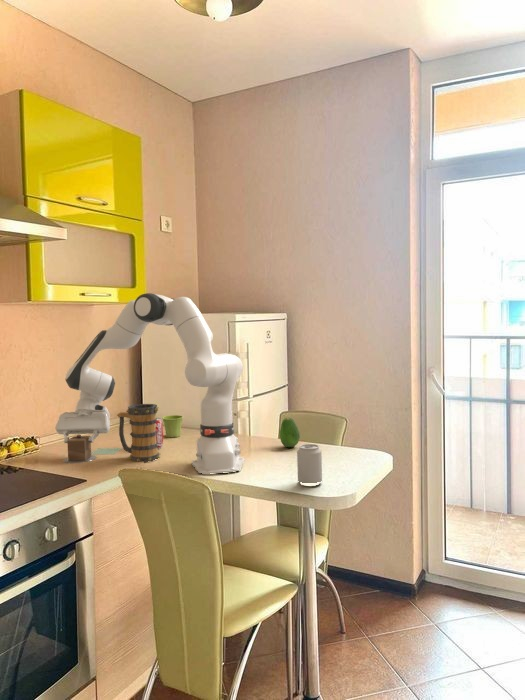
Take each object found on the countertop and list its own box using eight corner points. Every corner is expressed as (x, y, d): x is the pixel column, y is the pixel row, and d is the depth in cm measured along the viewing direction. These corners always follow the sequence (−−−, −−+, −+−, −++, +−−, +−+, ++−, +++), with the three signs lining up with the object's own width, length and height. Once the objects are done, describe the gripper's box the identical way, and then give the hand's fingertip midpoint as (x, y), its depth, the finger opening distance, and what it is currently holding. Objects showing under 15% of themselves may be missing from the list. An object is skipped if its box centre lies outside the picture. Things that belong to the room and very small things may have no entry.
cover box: (75, 456, 213) (73, 433, 213) (91, 456, 213) (90, 433, 212) (68, 461, 207) (67, 437, 206) (85, 460, 207) (84, 437, 206)
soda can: (165, 446, 229) (164, 417, 228) (160, 450, 222) (159, 420, 221) (148, 446, 230) (147, 417, 229) (143, 450, 223) (142, 420, 222)
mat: (114, 455, 216) (114, 454, 216) (89, 455, 217) (89, 454, 217) (122, 449, 226) (122, 448, 226) (98, 449, 227) (98, 448, 227)
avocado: (276, 447, 220) (275, 417, 220) (290, 444, 225) (289, 415, 225) (289, 451, 214) (288, 420, 213) (304, 447, 219) (303, 417, 218)
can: (320, 480, 175) (319, 442, 174) (324, 487, 167) (323, 447, 167) (296, 481, 174) (295, 443, 174) (299, 488, 167) (298, 448, 166)
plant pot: (188, 435, 250) (187, 416, 249) (174, 439, 242) (173, 419, 241) (172, 433, 254) (171, 414, 254) (158, 437, 247) (157, 418, 246)
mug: (153, 464, 201) (150, 409, 200) (110, 462, 205) (107, 408, 204) (167, 455, 213) (165, 403, 212) (127, 453, 217) (125, 403, 216)
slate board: (93, 463, 205) (93, 461, 205) (59, 465, 203) (59, 463, 203) (99, 455, 217) (99, 454, 217) (67, 457, 215) (67, 456, 215)
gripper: (58, 407, 216) (48, 438, 207) (109, 406, 215) (102, 437, 206) (63, 417, 221) (54, 447, 212) (114, 416, 220) (107, 446, 211)
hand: (78, 442), depth 209 cm, fingers open, 8 cm apart
